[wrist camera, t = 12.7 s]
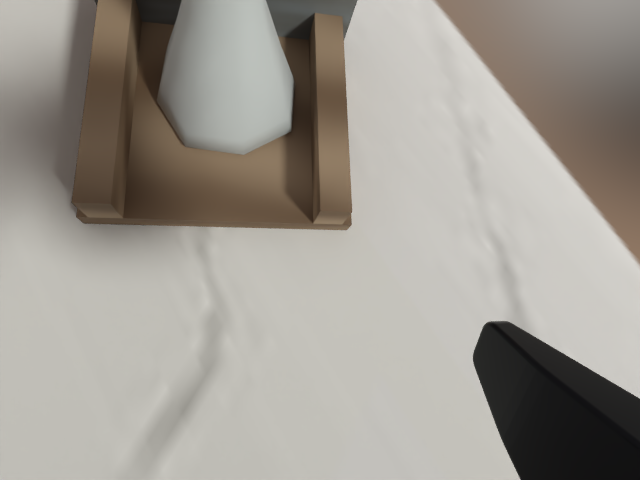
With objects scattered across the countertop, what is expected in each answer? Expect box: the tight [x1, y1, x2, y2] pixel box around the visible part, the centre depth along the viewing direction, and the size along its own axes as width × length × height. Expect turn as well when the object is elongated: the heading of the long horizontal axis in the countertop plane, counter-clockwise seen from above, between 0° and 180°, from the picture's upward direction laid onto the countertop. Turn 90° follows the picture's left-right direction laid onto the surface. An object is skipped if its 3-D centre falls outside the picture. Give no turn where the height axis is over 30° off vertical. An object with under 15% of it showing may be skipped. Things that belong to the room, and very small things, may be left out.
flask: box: [157, 0, 295, 155], centre depth 17 cm, size 7×7×10 cm
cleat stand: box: [72, 0, 357, 230], centre depth 20 cm, size 13×13×6 cm
